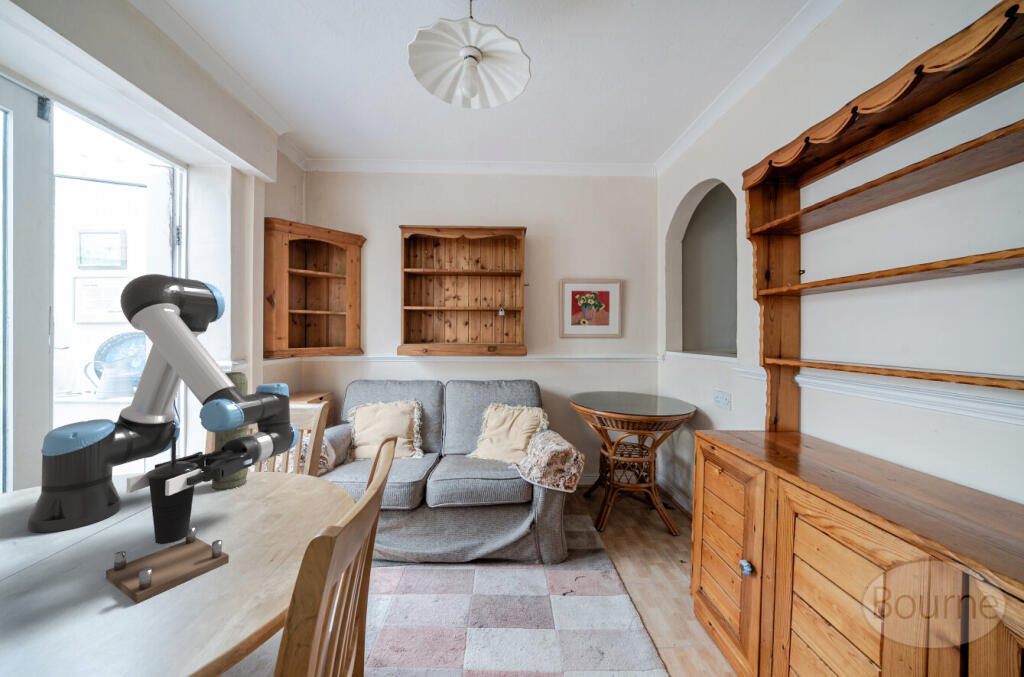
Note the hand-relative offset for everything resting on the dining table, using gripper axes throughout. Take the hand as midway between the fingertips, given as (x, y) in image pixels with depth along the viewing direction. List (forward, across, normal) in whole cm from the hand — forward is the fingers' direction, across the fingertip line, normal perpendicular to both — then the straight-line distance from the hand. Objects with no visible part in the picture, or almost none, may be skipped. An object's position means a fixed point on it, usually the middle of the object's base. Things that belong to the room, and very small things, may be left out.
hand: (147, 486), depth 70 cm
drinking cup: (-5, 0, -12) cm, 13 cm away
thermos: (-45, +24, -18) cm, 55 cm away
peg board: (-5, 0, -18) cm, 19 cm away
